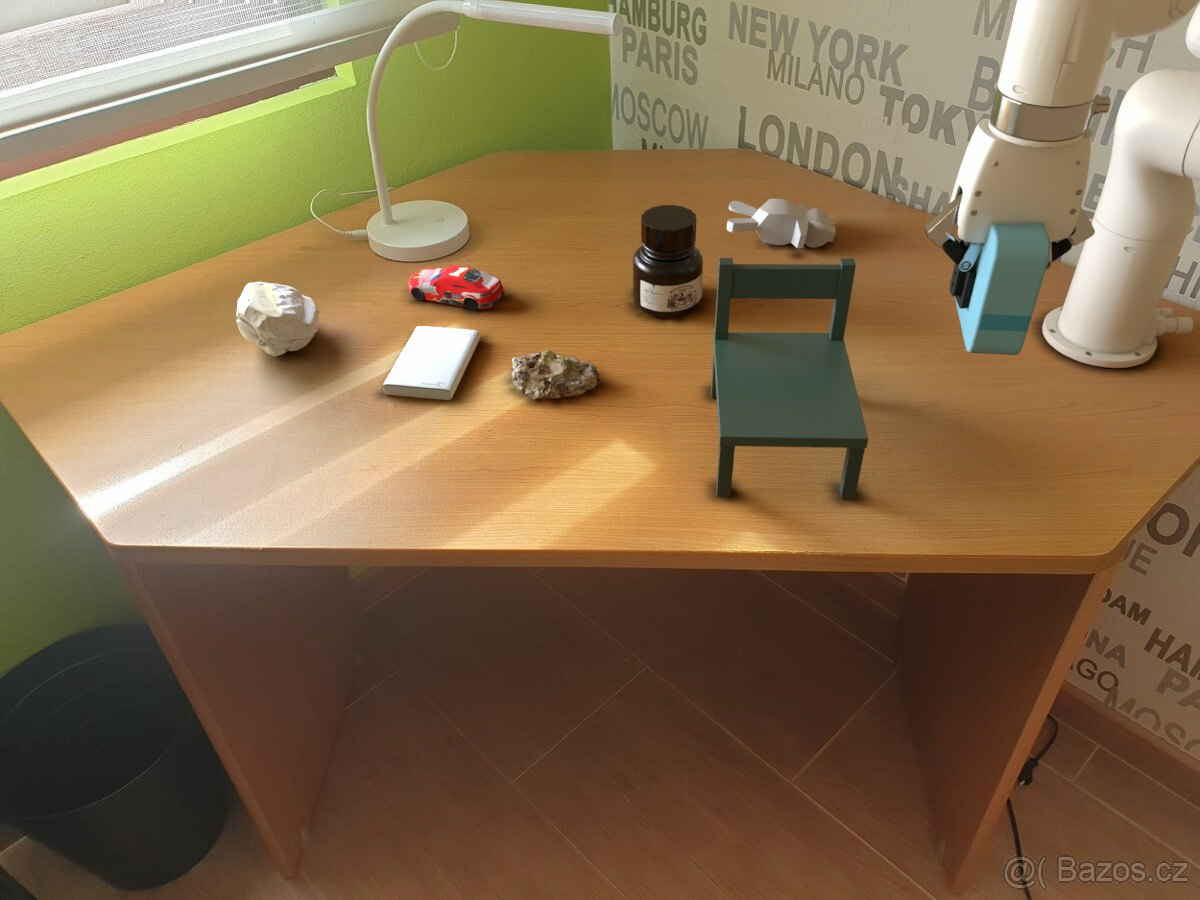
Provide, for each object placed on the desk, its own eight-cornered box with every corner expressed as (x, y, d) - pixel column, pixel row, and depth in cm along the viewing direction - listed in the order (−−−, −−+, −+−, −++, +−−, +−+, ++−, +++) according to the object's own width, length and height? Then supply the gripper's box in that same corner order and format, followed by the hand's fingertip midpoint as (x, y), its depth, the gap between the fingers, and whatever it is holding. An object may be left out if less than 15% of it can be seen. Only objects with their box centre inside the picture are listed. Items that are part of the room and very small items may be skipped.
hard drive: (450, 389, 109) (479, 329, 118) (381, 383, 110) (415, 324, 119) (451, 401, 110) (480, 340, 119) (384, 395, 111) (417, 335, 120)
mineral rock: (499, 385, 108) (515, 331, 112) (504, 408, 111) (519, 355, 116) (593, 396, 106) (605, 341, 111) (595, 419, 110) (606, 365, 114)
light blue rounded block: (1018, 362, 88) (1054, 246, 80) (967, 360, 88) (997, 244, 80) (998, 292, 96) (1028, 181, 89) (952, 290, 97) (977, 180, 89)
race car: (402, 298, 127) (397, 272, 125) (422, 278, 131) (417, 252, 128) (490, 316, 123) (487, 289, 121) (509, 295, 127) (506, 268, 124)
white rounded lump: (297, 309, 126) (230, 346, 121) (274, 253, 121) (203, 290, 116) (346, 338, 119) (278, 378, 114) (324, 280, 113) (251, 320, 109)
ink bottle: (642, 325, 121) (642, 240, 113) (621, 291, 127) (620, 207, 119) (714, 312, 122) (719, 227, 115) (690, 278, 129) (693, 196, 121)
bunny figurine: (839, 231, 129) (729, 214, 130) (829, 264, 133) (723, 247, 134) (836, 199, 137) (732, 184, 137) (827, 231, 140) (726, 216, 141)
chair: (832, 391, 109) (854, 257, 98) (856, 499, 96) (884, 359, 84) (710, 389, 110) (717, 257, 99) (715, 497, 96) (725, 357, 85)
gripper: (1130, 92, 81) (1070, 278, 93) (925, 97, 82) (891, 280, 94) (1165, 128, 75) (1095, 322, 87) (944, 133, 76) (906, 323, 88)
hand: (990, 298), depth 90 cm, fingers closed on light blue rounded block, 4 cm apart
